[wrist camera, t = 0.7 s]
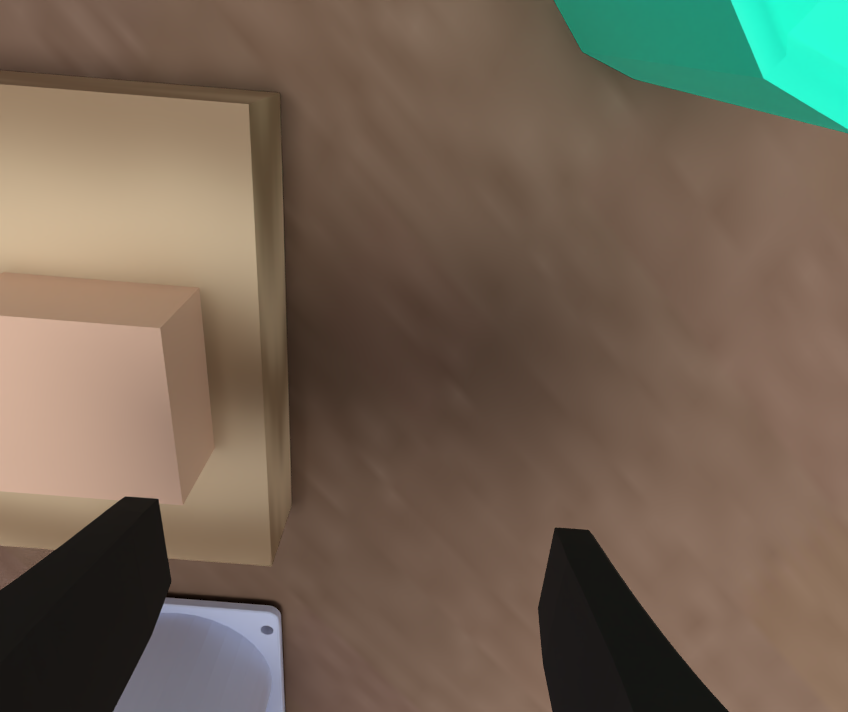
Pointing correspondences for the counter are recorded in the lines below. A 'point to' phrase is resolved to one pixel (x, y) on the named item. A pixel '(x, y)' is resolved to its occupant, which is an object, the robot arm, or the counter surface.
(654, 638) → the robot arm
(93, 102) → the board
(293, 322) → the counter surface
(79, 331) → the terracotta tile
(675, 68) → the candle
